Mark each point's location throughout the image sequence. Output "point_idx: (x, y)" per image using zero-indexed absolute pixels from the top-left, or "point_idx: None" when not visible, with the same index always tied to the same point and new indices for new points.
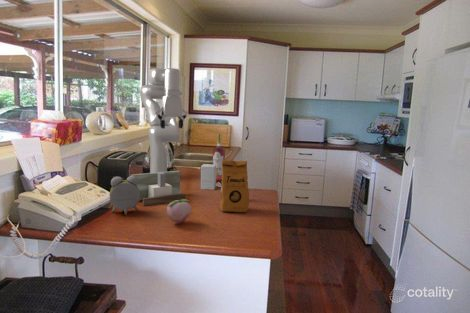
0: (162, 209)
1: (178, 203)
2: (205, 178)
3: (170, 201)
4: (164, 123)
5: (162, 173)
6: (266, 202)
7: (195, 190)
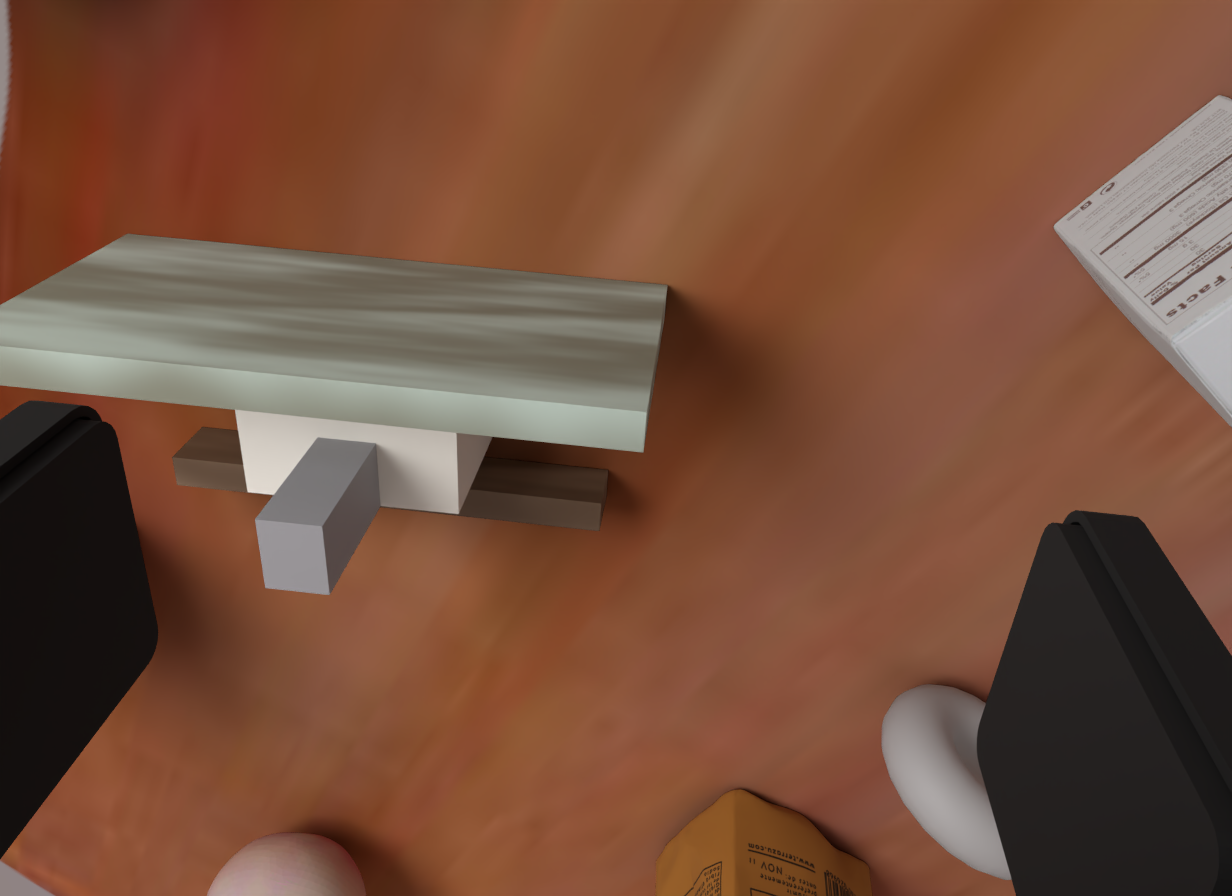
0: (319, 600)
1: None
2: (1136, 324)
3: None
4: (6, 827)
5: (302, 569)
6: None
7: (949, 241)
